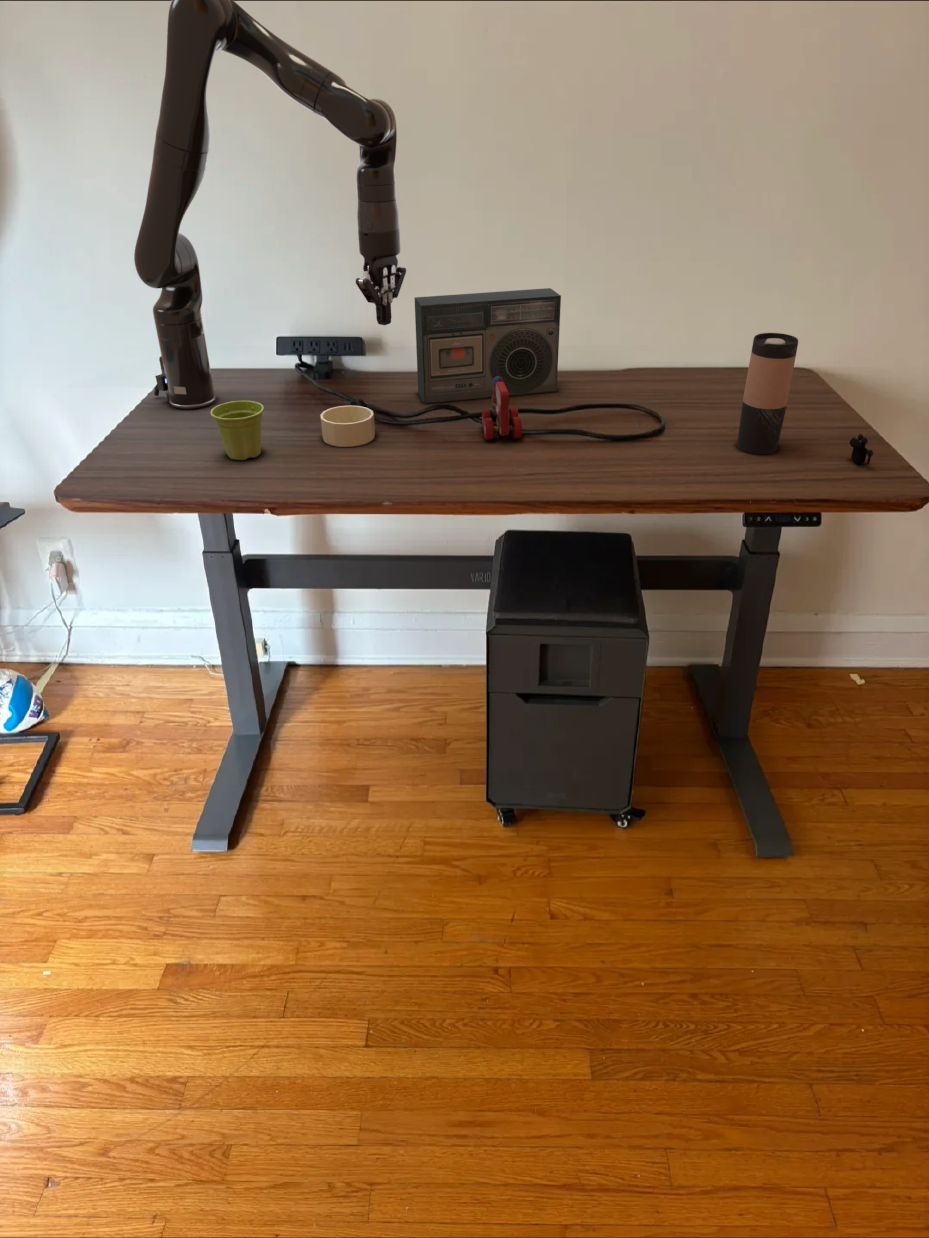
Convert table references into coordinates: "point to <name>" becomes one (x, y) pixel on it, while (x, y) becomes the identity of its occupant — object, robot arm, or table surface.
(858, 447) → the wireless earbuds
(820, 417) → the table surface
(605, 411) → the table surface
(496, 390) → the red toy vehicle
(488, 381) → the cassette player
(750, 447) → the travel mug
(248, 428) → the plant pot
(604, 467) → the table surface
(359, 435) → the beige round bowl
